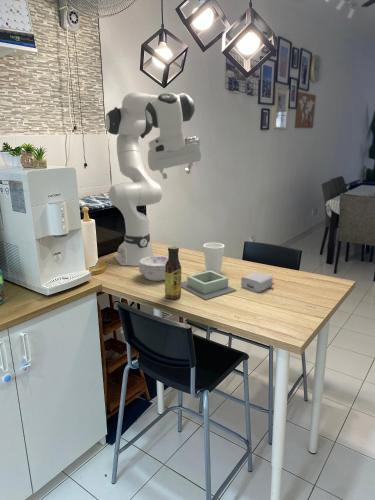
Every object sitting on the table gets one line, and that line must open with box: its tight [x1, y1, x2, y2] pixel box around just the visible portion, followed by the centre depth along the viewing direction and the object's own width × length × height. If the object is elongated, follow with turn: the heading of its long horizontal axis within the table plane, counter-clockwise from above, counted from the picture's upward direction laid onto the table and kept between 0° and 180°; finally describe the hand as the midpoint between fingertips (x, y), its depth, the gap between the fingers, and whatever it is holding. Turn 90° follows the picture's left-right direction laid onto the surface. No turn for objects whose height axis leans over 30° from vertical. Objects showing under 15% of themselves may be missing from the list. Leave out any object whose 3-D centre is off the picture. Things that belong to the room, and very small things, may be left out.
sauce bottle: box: [164, 245, 182, 300], centre depth 147 cm, size 6×6×20 cm
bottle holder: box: [186, 270, 229, 294], centre depth 158 cm, size 11×12×4 cm
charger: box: [240, 271, 274, 293], centre depth 161 cm, size 5×9×15 cm
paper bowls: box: [138, 255, 169, 282], centre depth 169 cm, size 15×15×8 cm
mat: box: [181, 280, 237, 301], centre depth 158 cm, size 20×16×1 cm
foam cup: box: [202, 242, 225, 275], centre depth 174 cm, size 10×9×13 cm
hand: (176, 175), depth 149 cm, fingers open, 8 cm apart
